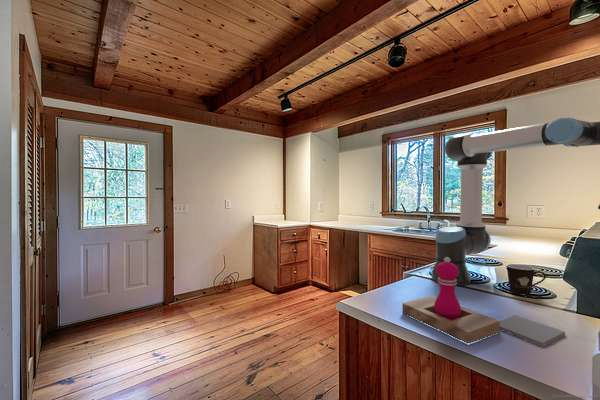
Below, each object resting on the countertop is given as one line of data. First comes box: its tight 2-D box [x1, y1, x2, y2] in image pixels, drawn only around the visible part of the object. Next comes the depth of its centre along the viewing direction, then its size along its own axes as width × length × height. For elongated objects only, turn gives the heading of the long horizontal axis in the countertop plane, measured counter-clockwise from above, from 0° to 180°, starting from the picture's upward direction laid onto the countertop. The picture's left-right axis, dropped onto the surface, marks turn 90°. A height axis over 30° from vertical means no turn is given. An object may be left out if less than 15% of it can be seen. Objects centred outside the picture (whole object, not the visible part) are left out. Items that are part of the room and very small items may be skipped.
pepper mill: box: [434, 257, 462, 321], centre depth 85 cm, size 7×7×20 cm
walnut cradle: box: [401, 295, 501, 343], centre depth 86 cm, size 22×14×4 cm, turn 26°
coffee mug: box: [506, 263, 547, 295], centre depth 109 cm, size 12×9×10 cm
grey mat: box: [499, 314, 566, 347], centre depth 80 cm, size 12×12×1 cm
